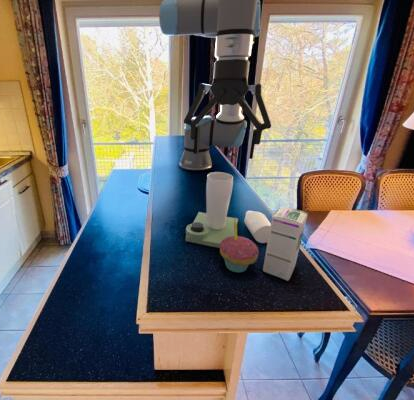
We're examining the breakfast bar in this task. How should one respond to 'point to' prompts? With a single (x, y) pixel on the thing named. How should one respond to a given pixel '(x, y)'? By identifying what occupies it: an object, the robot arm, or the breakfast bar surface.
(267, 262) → the syrup box
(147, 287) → the breakfast bar surface
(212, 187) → the drinking glass
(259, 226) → the roll
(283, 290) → the breakfast bar surface
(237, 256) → the cupcake
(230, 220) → the scale
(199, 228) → the button
